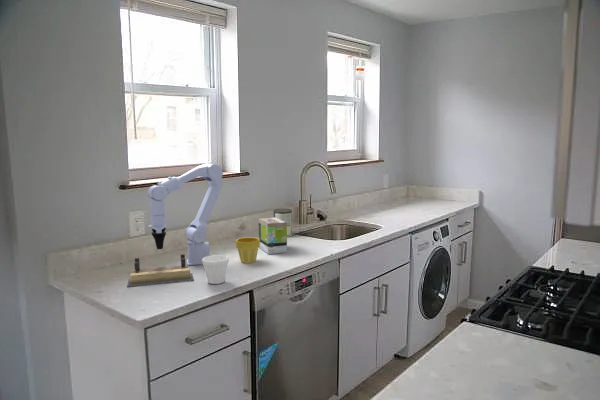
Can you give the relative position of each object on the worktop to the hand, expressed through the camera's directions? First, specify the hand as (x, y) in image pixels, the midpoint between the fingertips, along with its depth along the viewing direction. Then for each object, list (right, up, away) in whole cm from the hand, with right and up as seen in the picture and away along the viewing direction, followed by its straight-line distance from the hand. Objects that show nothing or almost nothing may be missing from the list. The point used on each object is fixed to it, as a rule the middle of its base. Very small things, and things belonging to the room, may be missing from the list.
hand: (159, 246), depth 192 cm
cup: (+26, -12, -17) cm, 34 cm away
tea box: (+45, -5, +31) cm, 55 cm away
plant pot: (+35, -8, +12) cm, 38 cm away
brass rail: (+5, -11, -14) cm, 19 cm away
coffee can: (+49, 0, +63) cm, 80 cm away
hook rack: (+2, -10, -4) cm, 11 cm away
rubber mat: (+5, -11, -14) cm, 19 cm away
